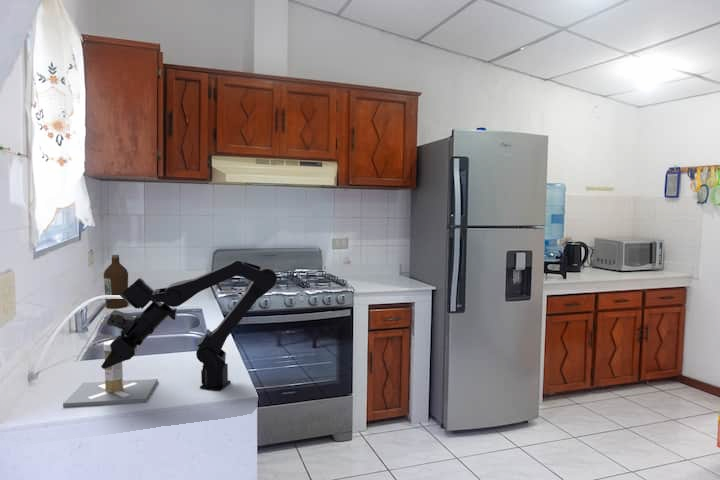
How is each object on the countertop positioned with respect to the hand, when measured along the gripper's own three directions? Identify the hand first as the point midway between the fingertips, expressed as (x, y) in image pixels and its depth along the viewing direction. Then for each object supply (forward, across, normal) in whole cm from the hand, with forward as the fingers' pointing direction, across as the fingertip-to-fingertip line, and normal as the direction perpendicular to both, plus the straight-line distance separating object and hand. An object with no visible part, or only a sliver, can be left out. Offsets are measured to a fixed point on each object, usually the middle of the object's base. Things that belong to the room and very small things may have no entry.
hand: (106, 362), depth 133 cm
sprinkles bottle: (+5, 0, +7) cm, 8 cm away
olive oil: (+22, -112, -8) cm, 115 cm away
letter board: (+5, 0, +7) cm, 9 cm away
